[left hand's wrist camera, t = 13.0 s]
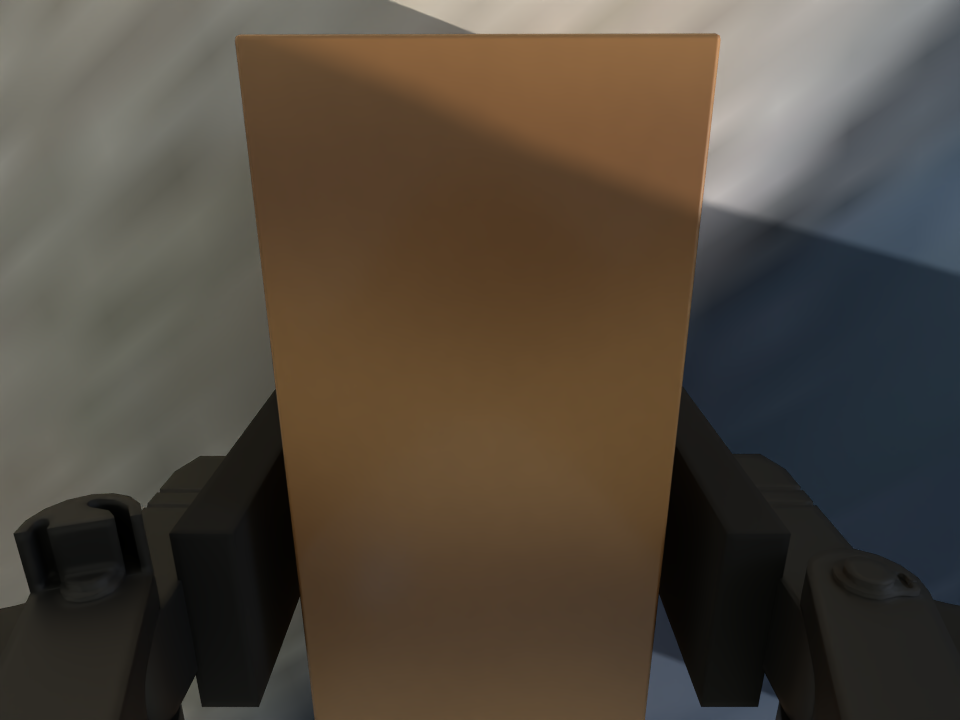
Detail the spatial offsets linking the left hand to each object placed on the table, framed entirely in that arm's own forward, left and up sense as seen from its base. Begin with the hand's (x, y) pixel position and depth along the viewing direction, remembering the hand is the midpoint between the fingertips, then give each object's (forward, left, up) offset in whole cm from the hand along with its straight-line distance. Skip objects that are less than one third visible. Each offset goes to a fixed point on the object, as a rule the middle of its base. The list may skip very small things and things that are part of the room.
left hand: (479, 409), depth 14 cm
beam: (+15, +25, -2) cm, 29 cm away
